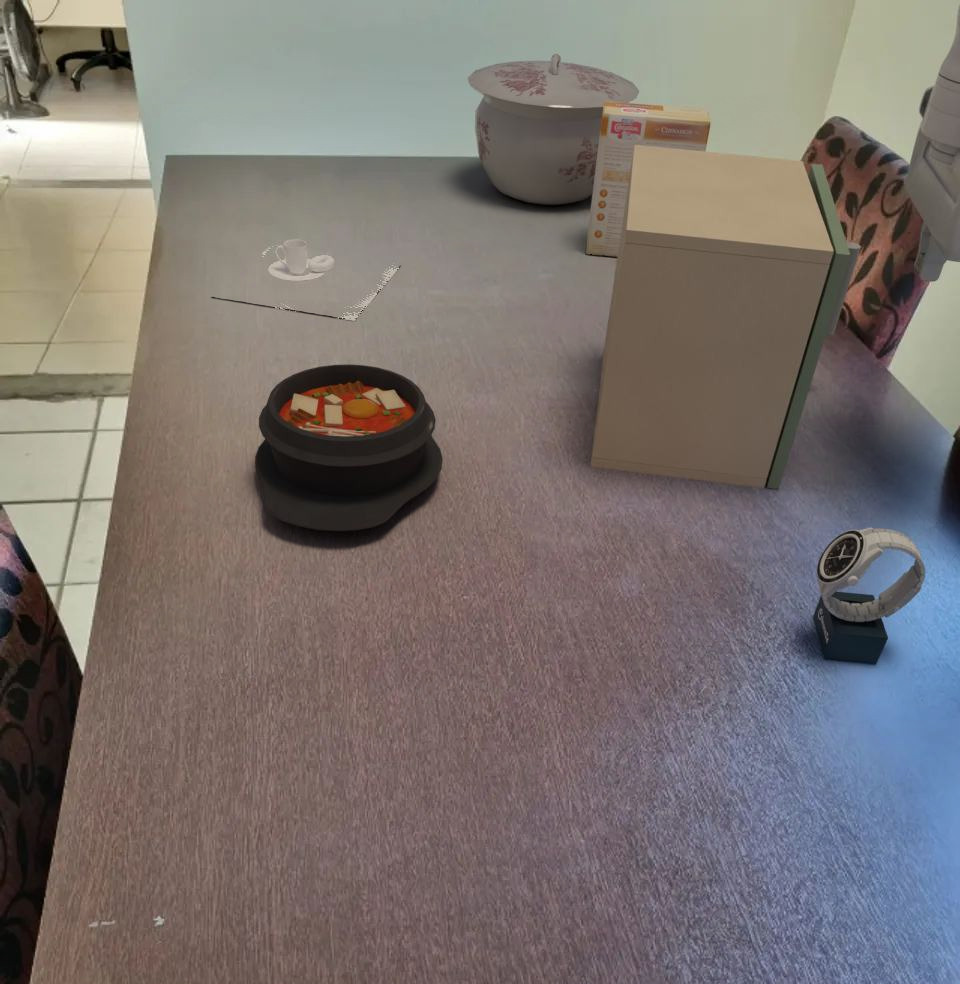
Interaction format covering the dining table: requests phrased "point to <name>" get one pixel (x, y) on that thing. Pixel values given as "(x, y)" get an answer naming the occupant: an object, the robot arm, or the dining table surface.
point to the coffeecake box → (615, 154)
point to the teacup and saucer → (318, 266)
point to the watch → (857, 617)
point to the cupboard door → (817, 318)
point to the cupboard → (708, 314)
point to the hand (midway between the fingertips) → (924, 275)
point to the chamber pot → (543, 126)
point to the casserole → (345, 447)
